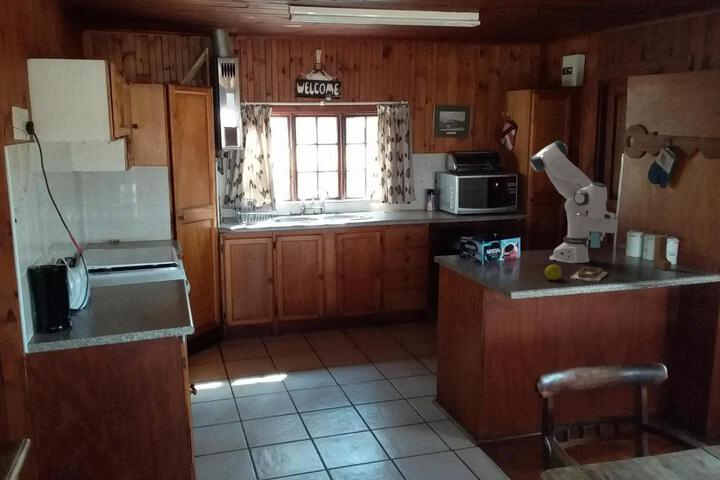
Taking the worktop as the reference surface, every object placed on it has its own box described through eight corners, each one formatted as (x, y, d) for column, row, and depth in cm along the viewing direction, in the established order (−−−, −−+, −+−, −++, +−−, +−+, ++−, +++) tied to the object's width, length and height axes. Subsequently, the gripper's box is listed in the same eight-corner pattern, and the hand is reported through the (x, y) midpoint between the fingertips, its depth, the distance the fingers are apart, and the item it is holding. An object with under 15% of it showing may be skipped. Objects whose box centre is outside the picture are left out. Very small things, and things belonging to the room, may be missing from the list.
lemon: (551, 282, 320) (552, 267, 318) (540, 279, 326) (540, 264, 325) (566, 279, 325) (567, 264, 324) (555, 276, 332) (555, 262, 330)
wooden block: (671, 270, 340) (673, 237, 337) (664, 270, 339) (666, 238, 336) (660, 266, 349) (662, 234, 346) (653, 267, 348) (655, 235, 345)
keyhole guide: (570, 278, 327) (570, 273, 326) (580, 271, 343) (580, 265, 343) (598, 281, 319) (598, 276, 319) (607, 273, 336) (607, 268, 335)
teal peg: (590, 247, 330) (591, 232, 329) (592, 246, 333) (592, 231, 332) (598, 248, 328) (599, 233, 327) (599, 246, 331) (600, 231, 330)
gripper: (575, 213, 330) (573, 239, 333) (616, 216, 320) (614, 242, 322) (578, 212, 336) (576, 237, 338) (618, 214, 325) (616, 240, 327)
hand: (595, 240), depth 330 cm, fingers closed on teal peg, 4 cm apart
